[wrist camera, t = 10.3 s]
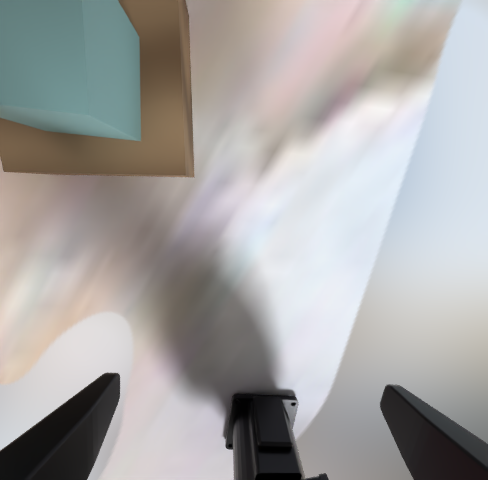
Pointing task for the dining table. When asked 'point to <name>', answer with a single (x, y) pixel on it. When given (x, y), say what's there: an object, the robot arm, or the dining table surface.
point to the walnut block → (151, 103)
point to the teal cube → (70, 67)
